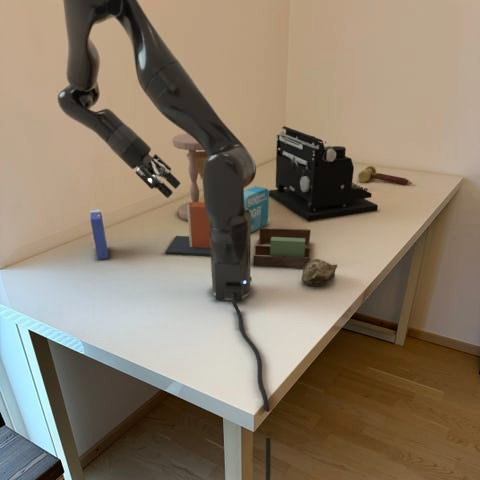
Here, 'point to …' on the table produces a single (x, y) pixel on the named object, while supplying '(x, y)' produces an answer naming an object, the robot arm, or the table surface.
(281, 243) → the paperback
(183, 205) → the hourglass
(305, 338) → the table surface
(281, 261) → the book rack
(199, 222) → the book
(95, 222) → the walkman
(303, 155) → the typewriter
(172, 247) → the slate mat
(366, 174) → the gavel
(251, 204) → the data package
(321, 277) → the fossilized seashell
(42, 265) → the table surface
